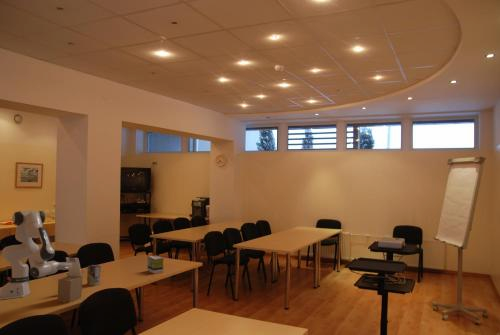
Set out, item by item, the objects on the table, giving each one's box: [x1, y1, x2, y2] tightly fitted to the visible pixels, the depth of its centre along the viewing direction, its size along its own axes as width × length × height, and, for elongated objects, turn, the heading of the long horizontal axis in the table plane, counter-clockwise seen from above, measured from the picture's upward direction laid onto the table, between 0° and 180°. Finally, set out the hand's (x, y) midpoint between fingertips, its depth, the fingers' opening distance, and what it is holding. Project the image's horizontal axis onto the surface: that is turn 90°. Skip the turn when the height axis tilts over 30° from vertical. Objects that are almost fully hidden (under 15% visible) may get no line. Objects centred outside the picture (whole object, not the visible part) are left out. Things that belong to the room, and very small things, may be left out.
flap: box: [65, 256, 83, 278], centre depth 296 cm, size 16×11×1 cm
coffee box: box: [86, 264, 101, 287], centre depth 334 cm, size 9×6×16 cm
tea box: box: [146, 255, 164, 275], centre depth 382 cm, size 15×10×15 cm
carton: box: [57, 276, 83, 304], centre depth 292 cm, size 12×11×16 cm
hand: (65, 263), depth 288 cm, fingers closed
